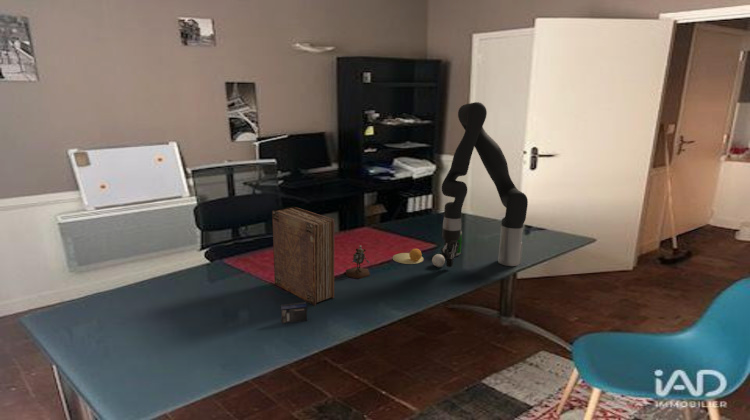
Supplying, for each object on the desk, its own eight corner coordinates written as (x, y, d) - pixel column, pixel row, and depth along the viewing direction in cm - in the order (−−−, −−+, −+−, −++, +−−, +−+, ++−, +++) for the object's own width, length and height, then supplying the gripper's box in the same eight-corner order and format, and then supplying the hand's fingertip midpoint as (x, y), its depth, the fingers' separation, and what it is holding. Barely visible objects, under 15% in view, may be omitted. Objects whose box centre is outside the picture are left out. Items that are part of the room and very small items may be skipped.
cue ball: (447, 255, 212) (442, 265, 215) (436, 249, 213) (431, 259, 215) (446, 261, 207) (440, 271, 210) (434, 255, 208) (429, 265, 210)
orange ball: (425, 252, 219) (416, 257, 222) (417, 244, 218) (409, 249, 221) (422, 260, 214) (413, 265, 218) (414, 251, 213) (405, 256, 217)
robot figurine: (353, 280, 195) (353, 252, 192) (339, 273, 202) (340, 246, 199) (374, 274, 202) (375, 246, 199) (361, 267, 208) (361, 241, 205)
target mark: (412, 251, 230) (412, 251, 230) (429, 261, 218) (429, 260, 218) (386, 255, 223) (386, 255, 223) (402, 265, 211) (402, 265, 211)
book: (334, 298, 178) (334, 219, 170) (314, 306, 172) (313, 224, 164) (294, 278, 195) (292, 205, 188) (274, 284, 189) (272, 209, 182)
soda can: (461, 257, 224) (463, 232, 221) (445, 256, 224) (446, 231, 221) (459, 251, 231) (461, 227, 228) (443, 251, 231) (444, 227, 228)
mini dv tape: (281, 323, 159) (281, 306, 157) (281, 321, 160) (280, 304, 159) (307, 320, 161) (306, 304, 160) (306, 318, 162) (306, 302, 161)
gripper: (452, 232, 197) (449, 272, 201) (467, 225, 207) (464, 264, 211) (436, 229, 201) (433, 268, 205) (451, 222, 211) (449, 260, 216)
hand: (449, 266), depth 208 cm, fingers closed
